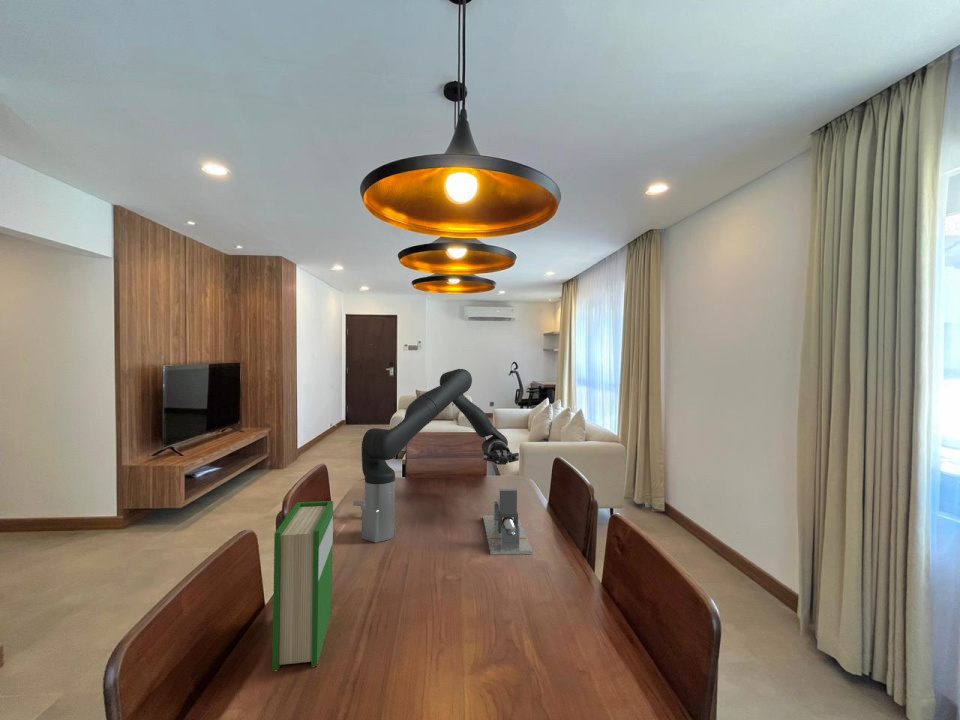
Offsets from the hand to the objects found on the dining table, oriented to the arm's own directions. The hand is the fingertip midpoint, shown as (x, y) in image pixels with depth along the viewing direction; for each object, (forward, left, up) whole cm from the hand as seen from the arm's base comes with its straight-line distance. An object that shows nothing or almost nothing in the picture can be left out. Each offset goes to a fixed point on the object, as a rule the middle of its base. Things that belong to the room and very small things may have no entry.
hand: (504, 461), depth 148 cm
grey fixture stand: (-4, -3, -22) cm, 23 cm away
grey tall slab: (-9, -7, -19) cm, 22 cm away
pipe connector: (-17, +44, -22) cm, 52 cm away
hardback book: (-73, +4, -22) cm, 76 cm away
